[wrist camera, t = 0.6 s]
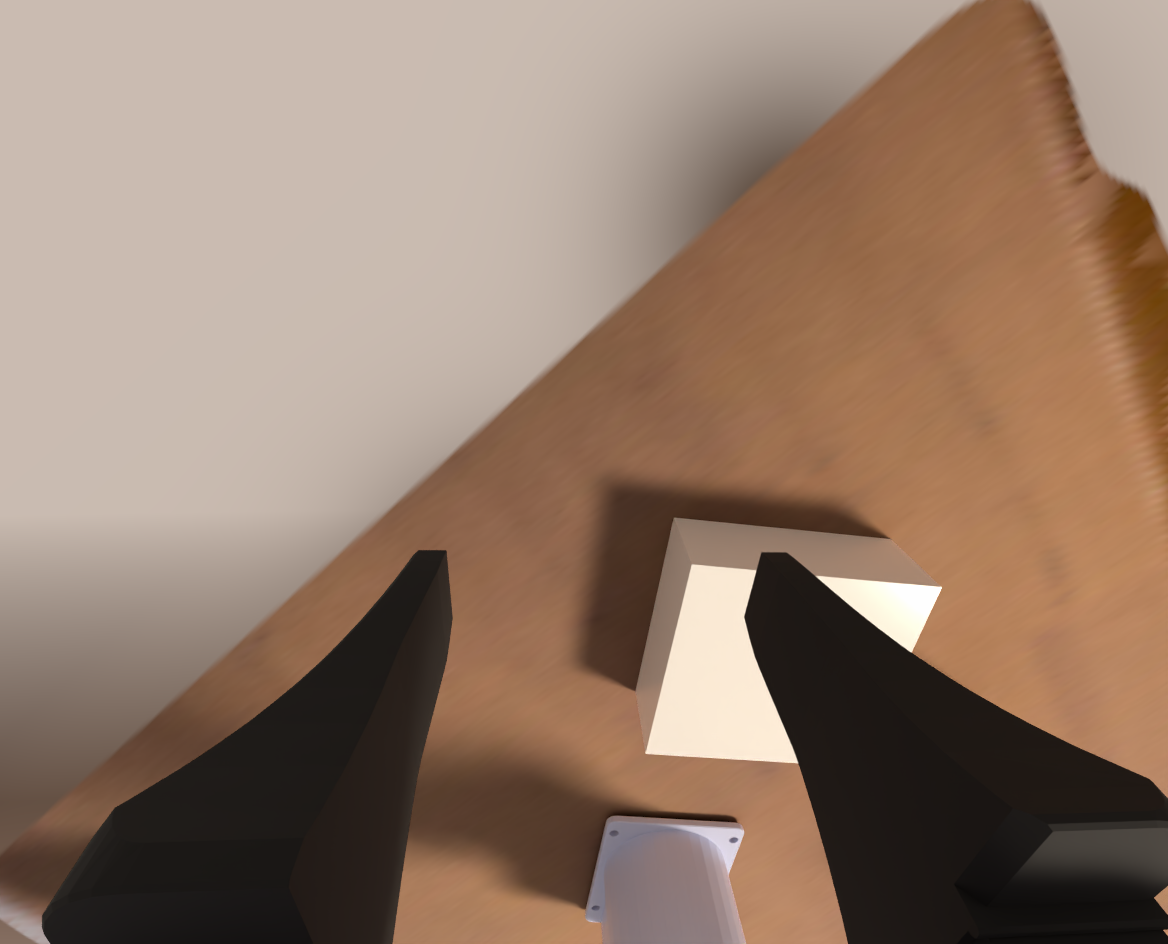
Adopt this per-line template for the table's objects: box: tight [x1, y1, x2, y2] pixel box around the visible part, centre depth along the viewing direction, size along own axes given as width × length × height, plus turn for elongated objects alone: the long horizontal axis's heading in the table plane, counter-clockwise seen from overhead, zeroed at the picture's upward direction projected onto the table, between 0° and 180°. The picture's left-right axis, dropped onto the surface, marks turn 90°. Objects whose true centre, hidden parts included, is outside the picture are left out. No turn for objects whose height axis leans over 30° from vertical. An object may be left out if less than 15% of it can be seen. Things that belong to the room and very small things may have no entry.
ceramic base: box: [636, 518, 942, 763], centre depth 25 cm, size 10×10×4 cm
